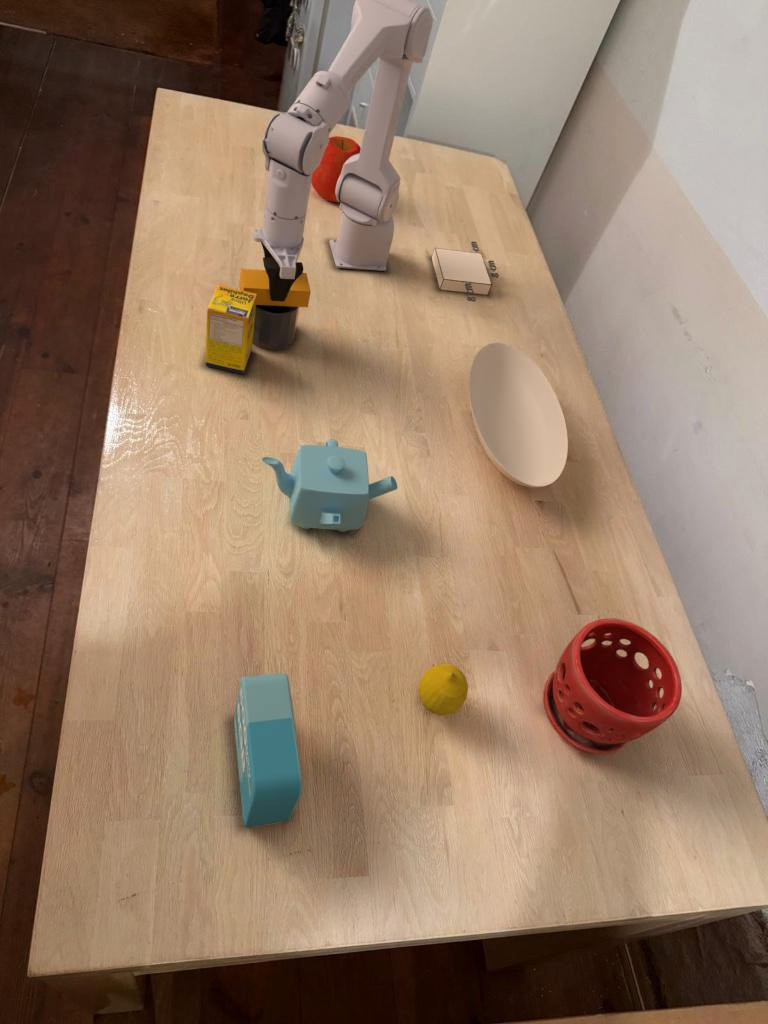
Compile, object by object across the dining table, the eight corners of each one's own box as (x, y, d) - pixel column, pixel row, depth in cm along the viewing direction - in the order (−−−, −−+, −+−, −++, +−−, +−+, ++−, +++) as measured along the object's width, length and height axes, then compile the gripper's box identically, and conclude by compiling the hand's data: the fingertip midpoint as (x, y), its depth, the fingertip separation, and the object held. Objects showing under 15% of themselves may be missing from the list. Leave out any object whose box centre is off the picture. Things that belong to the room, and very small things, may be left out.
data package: (233, 717, 81) (241, 671, 72) (274, 712, 83) (287, 666, 73) (243, 831, 75) (254, 797, 65) (288, 824, 76) (304, 790, 67)
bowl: (447, 364, 125) (458, 336, 120) (530, 375, 128) (544, 348, 123) (472, 508, 107) (486, 481, 102) (567, 515, 110) (585, 490, 106)
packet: (303, 288, 117) (306, 272, 114) (307, 307, 114) (310, 291, 112) (239, 285, 114) (240, 268, 111) (242, 304, 111) (243, 287, 109)
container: (426, 241, 145) (430, 229, 143) (481, 248, 148) (485, 236, 146) (444, 309, 134) (448, 297, 132) (503, 315, 137) (508, 303, 135)
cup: (290, 318, 123) (296, 283, 117) (297, 350, 119) (302, 315, 113) (242, 316, 121) (246, 280, 115) (247, 349, 116) (251, 313, 111)
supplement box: (251, 349, 116) (258, 292, 108) (243, 375, 113) (249, 318, 104) (214, 340, 116) (217, 282, 107) (204, 366, 112) (207, 308, 103)
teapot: (384, 479, 107) (400, 432, 99) (390, 561, 98) (409, 517, 90) (257, 467, 103) (264, 417, 95) (253, 552, 94) (260, 505, 87)
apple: (337, 172, 153) (347, 120, 145) (372, 200, 150) (383, 149, 142) (297, 182, 148) (304, 129, 139) (331, 212, 144) (341, 160, 136)
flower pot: (651, 749, 90) (706, 711, 81) (558, 772, 86) (605, 736, 77) (604, 652, 97) (650, 607, 88) (517, 669, 93) (555, 624, 84)
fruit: (453, 730, 86) (475, 704, 80) (407, 718, 86) (426, 691, 80) (458, 687, 90) (480, 658, 83) (414, 675, 89) (432, 645, 83)
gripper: (251, 175, 105) (244, 257, 116) (262, 237, 97) (253, 319, 108) (300, 180, 107) (289, 260, 118) (315, 241, 99) (302, 321, 110)
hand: (275, 288), depth 113 cm, fingers closed on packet, 4 cm apart
